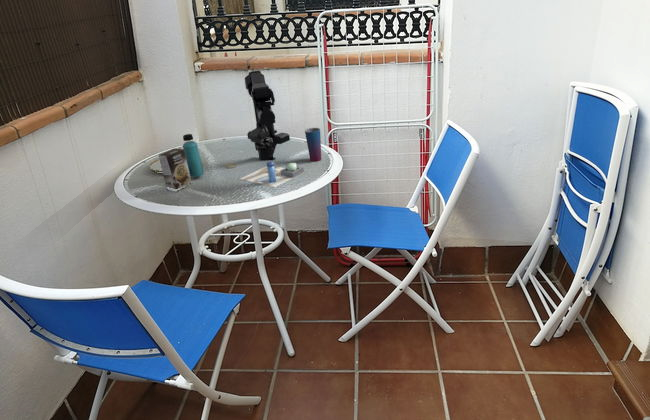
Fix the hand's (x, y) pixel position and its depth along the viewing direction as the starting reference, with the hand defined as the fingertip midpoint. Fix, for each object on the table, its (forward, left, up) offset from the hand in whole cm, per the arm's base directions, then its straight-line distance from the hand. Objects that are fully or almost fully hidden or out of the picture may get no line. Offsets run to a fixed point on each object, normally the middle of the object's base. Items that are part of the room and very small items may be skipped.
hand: (271, 156), depth 197 cm
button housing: (+2, +9, -11) cm, 14 cm away
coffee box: (-36, -22, -12) cm, 44 cm away
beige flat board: (-5, +4, -12) cm, 13 cm away
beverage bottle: (-38, -11, -12) cm, 41 cm away
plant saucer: (-61, -6, -12) cm, 62 cm away
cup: (0, +27, -12) cm, 29 cm away
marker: (0, -1, -11) cm, 11 cm away
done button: (+2, +9, -10) cm, 13 cm away
